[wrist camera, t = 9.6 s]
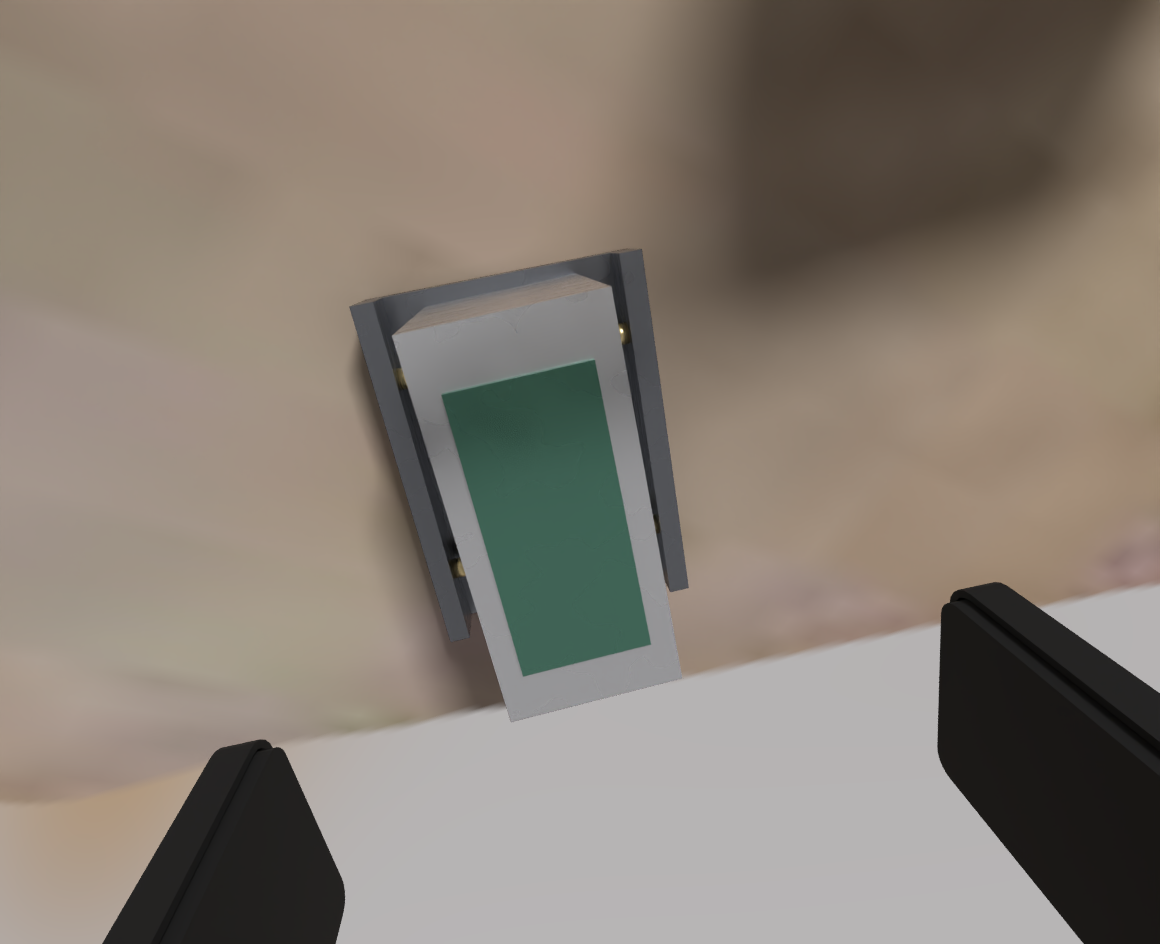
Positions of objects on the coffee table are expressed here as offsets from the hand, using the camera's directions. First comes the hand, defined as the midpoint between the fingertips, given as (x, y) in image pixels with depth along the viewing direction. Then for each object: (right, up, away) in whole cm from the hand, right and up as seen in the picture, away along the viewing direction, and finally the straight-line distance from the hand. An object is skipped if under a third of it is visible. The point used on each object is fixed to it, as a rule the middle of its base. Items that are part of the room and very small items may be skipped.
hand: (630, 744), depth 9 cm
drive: (-2, +5, +14) cm, 15 cm away
